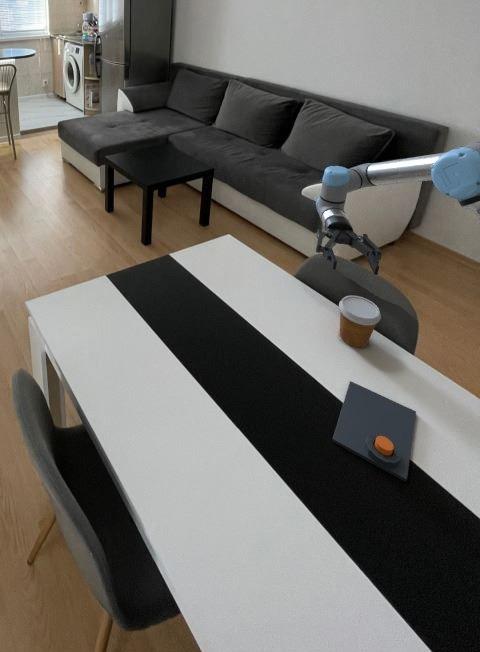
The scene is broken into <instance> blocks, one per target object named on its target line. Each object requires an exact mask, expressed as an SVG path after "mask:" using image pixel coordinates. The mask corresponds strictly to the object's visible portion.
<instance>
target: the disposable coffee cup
mask: <svg viewBox="0 0 480 652" xmlns="http://www.w3.org/2000/svg"><path fill="white" fill-rule="evenodd" d="M338 308H339V311H340V312H339V337H340V339H341V340H342V341H343V342H344V343H345V344H347V345H349V346H351V347H354V348H364V347H366V346H367V345H368V343H369V340H370V338H371V337H372V335H373V332H374V330H375V328H376V326H377V324H378V323H379V322H380V321H381V319H382V314H381V312H380V309H379V307H378V305H377V304H376V303H374V302H373V301H372V300H370V299H368V298H366V297H363V296H359V295H346V296H344V297H343V298H341V300H340V301H339V303H338Z"/></svg>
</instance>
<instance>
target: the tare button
mask: <svg viewBox="0 0 480 652" xmlns="http://www.w3.org/2000/svg"><path fill="white" fill-rule="evenodd" d="M375 448H376V450H377V451H378V452H379V453H381V454H382V455H384V456H390V455H391V454H392V452H393V449H394V446H393V443H392V442H391V441H390V440H389V439H388V438H386V437H383V436H378V437H377V438H376V441H375Z"/></svg>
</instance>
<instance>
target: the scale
mask: <svg viewBox="0 0 480 652" xmlns="http://www.w3.org/2000/svg"><path fill="white" fill-rule="evenodd" d="M345 393H346V394H345V396H344V399H343V403H342V406H341V410H340V413H339V417H338V420H337V423H336V426H335V430H334V433H333V437H332V440H331V441H332V443H334V444H336V445H338V446H340V447H342V448H343V449H345V450H347V451H349V452H350V453H352V454H353V455H356V456H357V457H359V458H361V459H363V460H365V461H366V462H368V463H370V464H372V465H374V466H376V467H377V468H379V469H381V470H383V471H384V472H386V473H389V474H390V475H392V476H394V477H396V478H398V479H399V480H400V481H403V482H405V483H407V480H408V477H409V476H408V475H409V468H410V460H411V453H412V447H413V439H414V431H415V424H416V417H417V411H416V410H414V409H411V408H410V407H407V406H405V405H403V404H401V403H399V402H396V401H395V400H392V399H390V398H388V397H386V396H383V395H381V394H379V393H377V392H375V391H373V390H371V389H369V388H367V387H365V386H362V385H360V384H358V383H356V382H353V381H352V380H350V381H349V383H348V387H347V390H346V392H345ZM378 436H383V437H386V438H388V439H389V440H390V441H391V442H392V443H393V446H394V449H393V452H392V454H391V455H390V456H384V455H382V454H381V453H379V452H378V451H377V450H376V448H375V441H376V438H377V437H378Z"/></svg>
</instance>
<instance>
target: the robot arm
mask: <svg viewBox="0 0 480 652" xmlns="http://www.w3.org/2000/svg"><path fill="white" fill-rule="evenodd" d="M321 179H322V183H321V190H320V196H319V197H318V198H317V199H316V201H315V207H316V211H317V214H318V216H319V218H320V220H321V224H322V226H323V228H324V231H323V230H322V229H320V228H317V231H316V238H317V242H316V247H315V252H316V253H317V254H320V253H322V257H324V259H325V260H326V261H329V263H330V266H331V269H332V270H334V271H335V270H337V263H338V260H337V258H336V255H335V253H334V249H333V248H334V247H336V245H346V246H349V247H350V248H351V249H355V250H356V251H358V252H359V253H361V255H363V256H365V257H366V259H367V260H366V261H367V262H368V265H369V267H370V269H371V271H372V273H373V275H375V276H378V274H379V270H380V265H379V264H380V261H381V260H382V256H383V251H382V250H381V249H380V248H379V247H378V246H377V245H376V244H375V243H374V242H373V240H371V239H370V238H369V235H368V234H367V233H362V235H359V234H357V233H356V232H354V228H353V226H352V224H351V222H350V220H349V218H348V216H347V213H346V212H345V204H346V200H347V195H348V194H349V193H351V192H354V191H357V190H358V191H359V190H361V189H363V188H370V187H379V186H386V185H387V186H388V185H389V186H390V185H398V184H399V185H400V184H408V183H418V182H419V183H420V182H429V181H432V183H433V185H434V187H435V188H436V190H438V191H439V192H440V194H442V195H444V196H446V197H449V198H451V199H455V200H456V201H457V202H458V203H459V205H460V207H461V208H462V209H466V210H468V211H472V212H474V214H475V215H476V216H477V218H478V219H479V220H480V141H476V142H475V143H474V142H473V143H471V144H467V145H460V146H458V147H456V148H454V149H450V150H449V151H447V152H439V153H435V154H433V153H432V154H427V155H419V156H414V157H407V158H400V159H393V160H387V161H381V162H373V163H371V162H370V163H369V162H368V163H362V164H359V165H356V166H353V167H349V168H347V167H344V166H340V165H330V166H327V167H326V168H325V169H324V172H323V176H322V178H321ZM325 237H326V238H327V239H329V240H327V242H326V243H325V244H324V246H323V240H324V238H325Z"/></svg>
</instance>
